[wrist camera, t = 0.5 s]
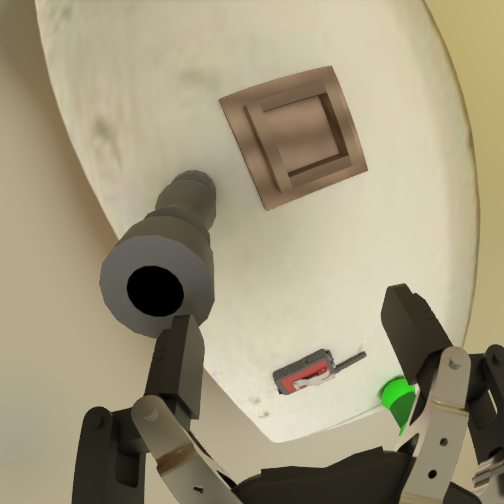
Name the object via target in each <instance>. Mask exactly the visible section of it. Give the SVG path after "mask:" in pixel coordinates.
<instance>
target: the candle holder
mask: <svg viewBox="0 0 504 504" xmlns="http://www.w3.org/2000/svg"><path fill="white" fill-rule="evenodd" d="M155 209H156V210H155V211H153V212H151V213H149V214H148V215H147V216H146V217H145V218H144V220H142V221H140V222H139V223H137V224H135V225H133V226H132V227H131V228H130V229H129V230H128V231H127V232H126V234H125V235H124V236H123V237H122V238H121V239H120V240H119V242H118V243H117V244H116V245H115V246H114V248H113V249H112V250H111V252H110V253H109V255H108V256H107V258H106V259H105V260H104V262H103V263H102V269H101V275H100V282H99V284H100V288H101V292H102V295H103V299H104V302H105V304H106V306H107V307H108V308H109V310H110V311H111V312H112V314H113V315H114V317H115V318H116V319H117V320H118V321H119V322H121V323H122V324H123V325H125V326H126V327H128V328H129V329H131V330H132V331H133V332H135V333H139V334H142V335H145V336H148V337H151V338H158V337H159V335H160V334H161V333H162V331H163V330H164V329H171V325H172V320H173V317H174V316H178V315H190V314H192V315H193V316H194V318H195V320H196V323H197V325H198V327H199V326H200V325H201V324H202V323H203V322H204V321H205V320H206V319H207V318H208V316H209V313H210V311H211V308H212V306H213V303H214V301H215V298H214V263H213V252H212V250H211V248H210V234H209V232H208V230H209V229H210V228H211V227H212V225H213V222H214V219H215V217H216V187H215V185H214V183H213V181H212V179H211V178H210V177H209V176H207V175H206V174H205V173H203V172H200V171H197V170H195V171H186V172H184V173H182V174H180V175H178V176H177V177H176V178H175V179H174V180H173V182H172V183H171V184H170V185H168V186H167V187H166V188H165V189H164V190H163V192H162V193H161V194H160V195H159V197H158V200H157V203H156V207H155Z"/></svg>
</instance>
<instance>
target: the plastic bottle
mask: <svg viewBox="0 0 504 504" xmlns="http://www.w3.org/2000/svg"><path fill="white" fill-rule="evenodd" d="M415 398H416V395H415V388H414V386H413V385H410V386H409V385H408V382H407V380H406V379H395V380H393V381H391V382H390V383H388V384H387V385H386V387H385V389H384V392H383V394H382V398H381V402H382V404H383V406H385V407H386V408H387V409H389V410H390V411H391V413H392V414H393V416H394V418H395V420H396V421H397V423H398V425H399V427H400V429H401V430H400V433H399V436H401V434H402V433H403V431H404V429H405V427H406V424H407V422H408V419H409V416H410V413H411V410H412V407H413V404H414V401H415Z"/></svg>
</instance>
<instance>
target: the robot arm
mask: <svg viewBox="0 0 504 504" xmlns="http://www.w3.org/2000/svg"><path fill="white" fill-rule="evenodd" d="M381 321H382V325H383V327H384V329H385V331H386V333H387V336H388V338H389V340H390V342H391V345H392V347H393V349H394V351H395V354H396V356H397V358H398V361H399V363H400V365H401V368H402V370H403V373H404V375H405V377H406V380H407V382H408V385H409V386H410V385H413V384H416V383H418V385H419V389H418V391H417V395H416V398H415V401H414V404H413V407H412V410H411V413H410V416H409V419H408V422H407V424H406V427H405V429H404V431H403V433H402V434H401V436H400V437H399V439H398V441H397V443H396V445H395V447H394V449H393V451H383V448H382V446H380V447H377V448H374V449H371V450H367V451H364V452H360V453H356V454H353V455H351V456H350V457H347V458H345V459H343V460H341V461H340V462H337V463H335V464H333V465H330V466H328V467H325V468H312V467H296V466H288V467H280V468H269V469H261V474H257V475H255V476H252V477H250V478H248V479H246V480H244V481H242V482H241V483H239V484H237V483H236V481H235V480H234V479H233V478H232V477H231V476H230V475H229V474H228V473H227V472H226V471H225V470H224V469H223V468H222V467H221V466H220V465H219V464H218V463H217V462H216V461H215V459H214V458H213V457H212V456H211V455H210V454H209V452H208V451H207V450H206V449H205V447H204V446H203V445H202V444H201V443H200V441H199V440H198V439H197V437H196V436H195V435H194V433H193V432H192V431H191V430H190V420H191V419H199V413H200V399H201V385H202V374H203V363H204V352H205V347H204V340H203V337H202V334H201V332H200V330H199V327H198V325H197V323H196V320H195V318H194V316H193V315H192V314H190V315H178V316H174V317H173V320H172V325H171V329H164V330H163V331H162V333H161V334H160V335H159V337H158V338H157V341H156V345H155V349H154V351H155V352H154V353H153V357H152V359H153V360H152V362H151V367H150V370H149V375H148V380H147V384H146V389H145V393H144V395H143V397H141V398H140V399H138V400H137V401H136V402H135V403H134V405H133V407H131V408H128V409H123V410H119V411H115V412H110V411H109V410H107V409H106V408H104V407H94V408H92V409H90V410H89V411H88V412H87V413H86V415H85V416H84V419H83V424H82V429H81V435H80V440H79V445H78V452H77V458H76V465H75V472H74V482H73V492H72V504H144V481H145V461H146V453H149V452H151V454H152V455H153V457H154V459H155V460H156V462H157V464H158V466H157V471H158V473H159V475H160V477H161V478H162V480H163V481H164V483H165V484H166V485H167V487H168V488H169V490H170V491H171V493H172V494H173V495H174V497H175V498H176V499H177V501H178V502H179V503H180V504H504V348H503V347H502V346H500V345H497V344H494V345H491V346H490V347H489V348H488V349H487V351H486V352H485V353H483V354H468V353H467V352H466V351H465V350H464V349H462V348H460V347H456V346H453V345H452V343H451V341H450V340H449V338H448V336H447V334H446V333H445V331H444V329H443V328H442V326H441V324H440V323H439V321H438V319H437V318H436V316H435V314H434V313H433V311H431V308H430V307H429V305H428V303H427V302H426V300H425V299H423V298H422V297H421V296H419V295H418V294H417V293H414V294H412V292H411V291H410V289H409V288H408V286H407V285H406V284H404V283H403V284H398V285H393V286H389V287H388V288H387V290H386V294H385V298H384V302H383V306H382V310H381ZM489 389H490V392H491V394H492V396H493V399H494V402H495V404H496V407H497V414H496V411H495V409H494V406H493V403H492V401H491V398H490V395H489V393H488V390H489ZM467 424H468V428H469V431H470V434H471V438H472V441H473V445H474V448H475V453H476V457H477V461H478V468H477V470H476V473H475V474H474V475H473V477H472V482H473V483H474V484H475V486H474V489H473V492H470V491H468V490H466V489H464V488H462V487H460V486H459V485H457V484H455V483H453V482H451V478H452V475H453V473H454V470H455V467H456V464H457V461H458V458H459V454H460V451H461V448H462V444H463V440H464V436H465V432H466V428H467Z"/></svg>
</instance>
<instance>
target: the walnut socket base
mask: <svg viewBox="0 0 504 504" xmlns="http://www.w3.org/2000/svg"><path fill="white" fill-rule="evenodd" d="M219 101H220V103H221V106H222V108H223V110H224V112H225V115H226V117H227V119H228V121H229V124H230V126H231V128H232V131H233V133H234V135H235V138H236V140H237V142H238V145H239V147H240V149H241V152H242V154H243V156H244V159H245V161H246V163H247V166H248V168H249V171H250V173H251V175H252V178H253V180H254V183H255V185H256V187H257V190H258V192H259V195H260V197H261V200H262V202H263V205H264V207H265V209H266V211H269V210H271V209H273V208H276V207H278V206H280V205H283V204H285V203H288V202H290V201H293V200H295V199H297V198H300V197H302V196H305V195H307V194H310V193H312V192H315V191H317V190H320V189H322V188H325V187H327V186H330V185H332V184H335V183H337V182H340V181H342V180H345V179H348V178H350V177H353V176H355V175H358V174H361V173H363V172H366V171H368V168H367V165H366V161H365V157H364V154H363V150H362V147H361V144H360V141H359V137H358V134H357V131H356V128H355V125H354V122H353V119H352V116H351V113H350V111H349V108H348V105H347V102H346V100H345V97H344V94H343V92H342V89H341V87H340V84H339V82H338V79H337V77H336V74H335V72H334V70H333V67H332V66H327V67H322V68H318V69H314V70H309V71H305V72H301V73H297V74H294V75H290V76H286V77H283V78H279V79H276V80H272V81H269V82H266V83H263V84H260V85H257V86H254V87H251V88H248V89H245V90H242V91H239V92H237V93H234V94H231V95H229V96H226V97H223V98H221V99H219Z"/></svg>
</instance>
